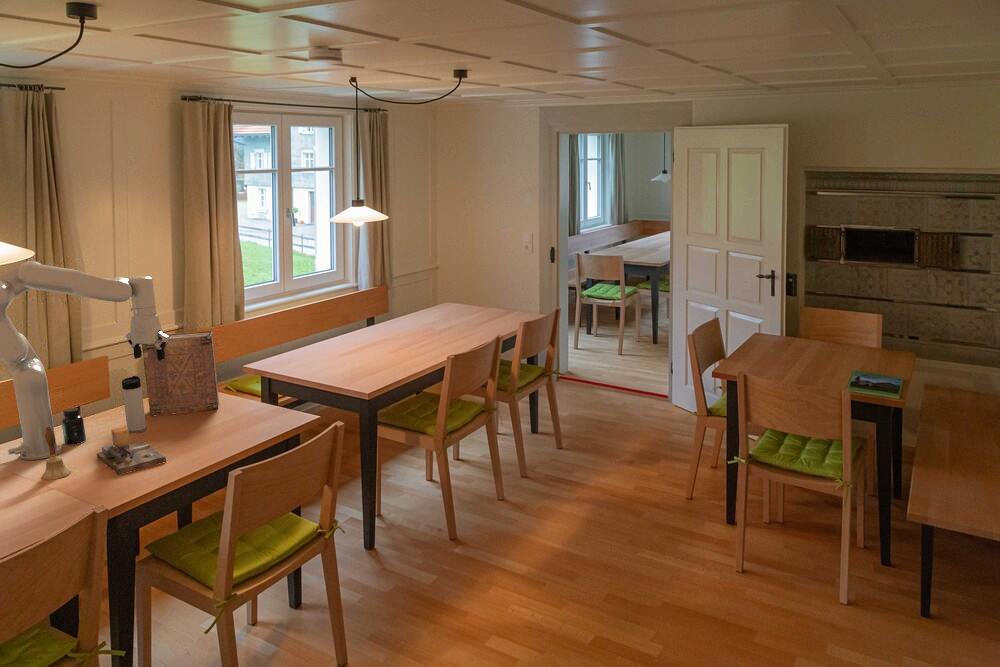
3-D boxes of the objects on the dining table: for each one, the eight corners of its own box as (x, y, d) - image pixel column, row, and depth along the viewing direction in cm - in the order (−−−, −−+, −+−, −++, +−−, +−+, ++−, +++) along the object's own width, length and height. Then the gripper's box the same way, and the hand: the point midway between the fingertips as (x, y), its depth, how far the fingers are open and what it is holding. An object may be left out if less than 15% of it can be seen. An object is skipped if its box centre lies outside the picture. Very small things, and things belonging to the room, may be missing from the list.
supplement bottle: (63, 446, 285) (58, 413, 283) (65, 440, 292) (61, 408, 289) (85, 443, 288) (80, 411, 285) (86, 437, 294) (82, 405, 291)
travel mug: (150, 427, 303) (143, 375, 299) (140, 433, 297) (134, 380, 292) (134, 427, 304) (127, 375, 299) (124, 433, 297) (117, 380, 293)
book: (149, 416, 316) (140, 341, 310) (152, 409, 325) (143, 335, 318) (218, 409, 323) (211, 335, 317) (219, 402, 332) (212, 330, 325)
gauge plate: (118, 475, 259) (116, 459, 258) (97, 458, 273) (95, 444, 272) (166, 462, 269) (164, 447, 268) (143, 447, 283) (141, 432, 282)
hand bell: (43, 482, 255) (36, 433, 251) (39, 473, 261) (32, 426, 258) (73, 475, 260) (66, 427, 256) (68, 467, 266) (61, 421, 263)
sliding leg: (126, 460, 264) (123, 437, 262) (113, 451, 272) (110, 429, 271) (138, 457, 267) (136, 434, 265) (126, 448, 275) (123, 426, 273)
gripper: (116, 312, 286) (121, 359, 290) (158, 314, 282) (163, 362, 285) (131, 308, 293) (136, 354, 297) (172, 310, 289) (177, 357, 292)
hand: (149, 358), depth 291 cm, fingers open, 9 cm apart
